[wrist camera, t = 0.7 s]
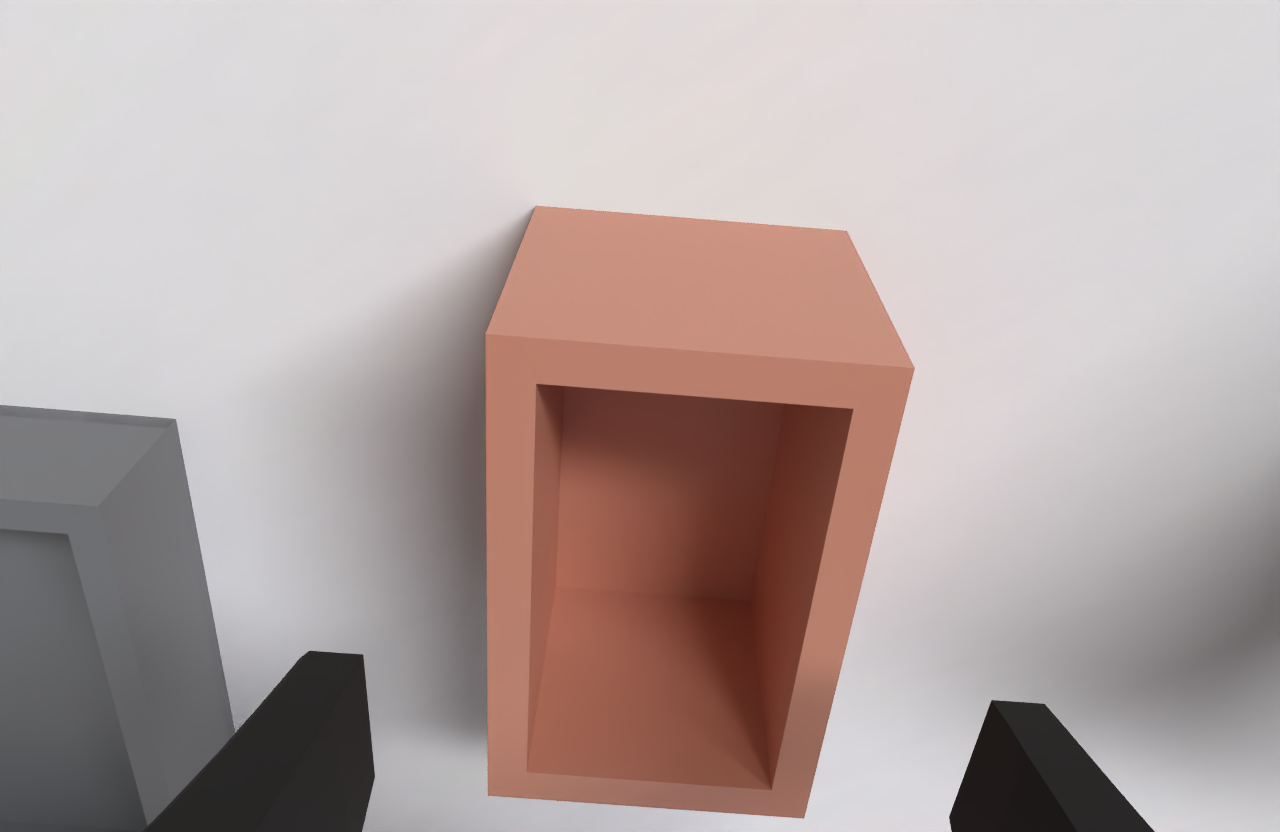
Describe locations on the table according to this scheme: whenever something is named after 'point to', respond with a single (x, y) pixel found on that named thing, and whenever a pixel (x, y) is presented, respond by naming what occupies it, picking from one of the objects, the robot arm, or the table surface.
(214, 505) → the table surface
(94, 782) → the charcoal crate
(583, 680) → the terracotta crate
